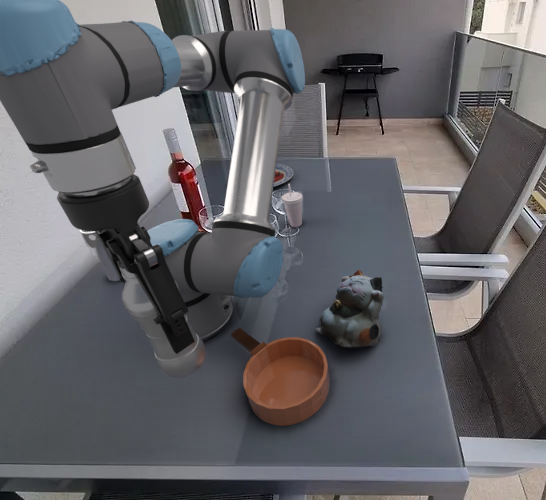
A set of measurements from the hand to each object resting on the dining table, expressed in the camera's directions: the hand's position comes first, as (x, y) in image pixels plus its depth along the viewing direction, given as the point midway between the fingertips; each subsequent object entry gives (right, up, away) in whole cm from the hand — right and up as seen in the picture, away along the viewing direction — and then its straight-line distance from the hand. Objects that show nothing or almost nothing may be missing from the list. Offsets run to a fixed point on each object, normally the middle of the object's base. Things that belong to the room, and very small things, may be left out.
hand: (171, 334), depth 49 cm
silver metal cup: (-36, +5, +44) cm, 57 cm away
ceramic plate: (-10, +40, +92) cm, 101 cm away
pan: (+14, -13, +14) cm, 24 cm away
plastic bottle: (0, -6, +4) cm, 7 cm away
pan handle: (+6, -7, +18) cm, 21 cm away
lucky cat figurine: (+25, -5, +25) cm, 36 cm away
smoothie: (+8, +20, +62) cm, 66 cm away
